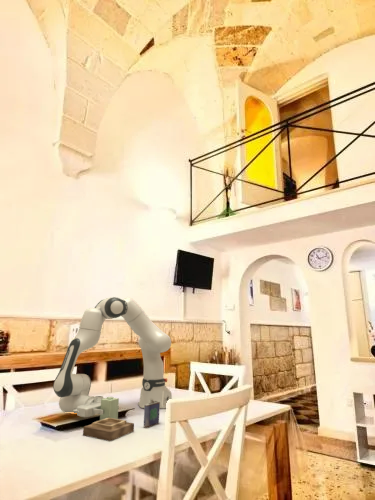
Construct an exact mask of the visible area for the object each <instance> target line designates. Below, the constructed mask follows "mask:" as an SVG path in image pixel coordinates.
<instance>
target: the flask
mask: <svg viewBox="0 0 375 500" xmlns="http://www.w3.org/2000/svg"><path fill="white" fill-rule="evenodd" d="M149 400H150V399H149ZM153 400H154V399H152V398H151V400H150V403H148V404H145V405H144V408H143V409H144V412H143V428H145V429H148V428H151V427H154V426H156V425H159V424H160V408H159V407H160V402H158V401H153Z"/></svg>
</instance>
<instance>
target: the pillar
mask: <svg viewBox="0 0 375 500" xmlns="http://www.w3.org/2000/svg"><path fill="white" fill-rule="evenodd" d="M103 398H104V399H101V408H100V409H104V410H105V411H104V414H102V415H101V414H99V421H100V420H103V419H106V418H114V419H119V409H118V405H119V400H120V399H119V397H118V398H117V397H113V396H106V397H103Z"/></svg>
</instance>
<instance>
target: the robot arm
mask: <svg viewBox="0 0 375 500" xmlns="http://www.w3.org/2000/svg"><path fill="white" fill-rule="evenodd" d="M120 317H121V318H123V319H124V321H125V322H126V324H127V325H128V326H129V328H130V329H131V330H132V331H133V333H134V334H135V335H137V336H138V337H139V339H138V345H139V347H140V349H141V353H142V354H141V355H142V359H143V377H142V380H141V385H142V387H141V389H140V395H139V402H137V405H138V407H139V408H141V409H144V405H145V404H148V403H150V400H151V398H152V399H154V400H153V401H158V402H160V407H159V409H167V408H166V403H167V401H168V400H169V399H172V400H173V398H172V392H171V390H170V389H169V388H168V387H167V386H166V383H168V381H169V380H168V378H165V377H164V373H165V372H164V370H165V369H164V365H165V364H164V361H163V360H162V357H161V353H165V352H167V351H168V350H169V349H171V346H172V339H171V337H170V336H169V334H167V333H166V332H164V331H163V330H162V329H161V328H159V327H158V326H157V325H156V324H155V323H154V322H153V321H152V320H151V318H150V317H149V316H148V315H147V314H146V312H145V311H144V310H143V308H142V307H141V306H140V304H138V302H137V301H135V300H134V299H133V298H132V297H126V298H124V299H121V298H120V297H116V296H115V297H114V296H113V297H105V298H104V299H101V300H100V301H99V302H98V303H97V304H96V305H95V306H94V307H89V308H87V309H86V310H84V312H83V315H82V316H81V320H80V323H79V326H78V330H77V334H76V335H75V337H74V339H72V340H71V341H70V343H69V345H68V346H67V347H68V348H67V349H66V351H65V355H64V358H63V361H62V363H61V367H60V368H59V371H58V373H57V375H56V377H55V380H54V381H53V386H52V388H53V391H54V393H55V395H56V396H57V397H58V398H59V401H58V405H59V409H60V410H61V412H63V413H65V412H74V413H77V417H78V416H79V417H81V418H91V417H93V416H95V415H100V414H101V415H102V414H104V411H105V410H104V409H100V408H101V399H104V398H105V397H104V395H96V396H95V395H90V390H91V387H92V380H91V377H90V376H89V375H87V374H85V373H73V371H74V369H75V365H76V363H77V360H78V358H79V356H80V354H82V353H83V352H84V351H87V350H89V349H91V348H94V346H96V345H97V344H98V343H99V340H100V338H101V335H102V334H101V333H102V329H103V328H102V327H103V323H104V322H105V320H112V319H117V318H120ZM149 399H150V400H149ZM119 409H120V407H119V404H118V410H119ZM90 416H91V417H90Z"/></svg>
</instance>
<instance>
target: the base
mask: <svg viewBox="0 0 375 500" xmlns="http://www.w3.org/2000/svg"><path fill="white" fill-rule="evenodd" d="M82 428H83V429H82V431H83V432H82V436H84V437H91V438H93V439H94V438H95V439H99V440H103V441H107V442H112V441H115V440H117V439H119V438H121V437H124V436H126V435H129V434H131V433H134V431H135V423H134V422H130V421H127V420H126V419H125V420H124V419H119V418H118V419H114V418H106V419H103V420H100V419H99V420H96V421H94V422H92V423H91V424H88V425H85V426H83V427H82Z"/></svg>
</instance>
